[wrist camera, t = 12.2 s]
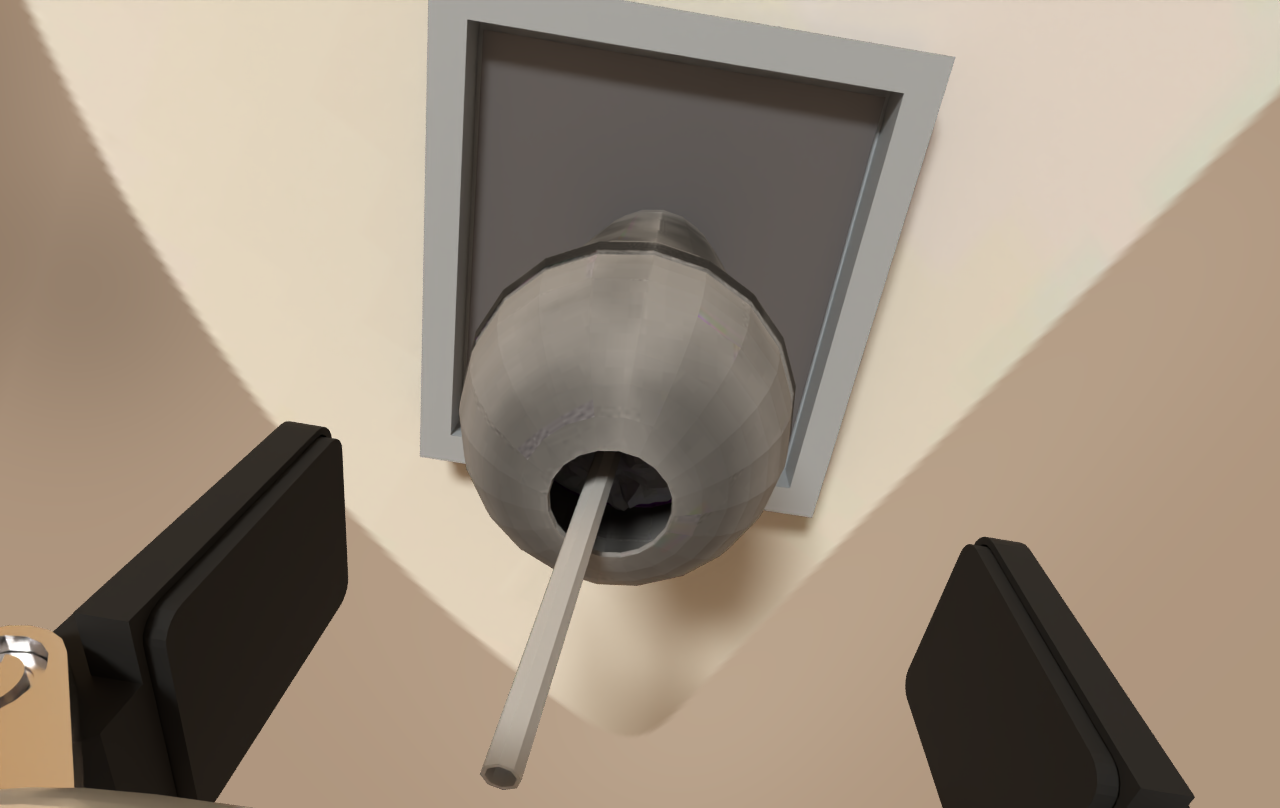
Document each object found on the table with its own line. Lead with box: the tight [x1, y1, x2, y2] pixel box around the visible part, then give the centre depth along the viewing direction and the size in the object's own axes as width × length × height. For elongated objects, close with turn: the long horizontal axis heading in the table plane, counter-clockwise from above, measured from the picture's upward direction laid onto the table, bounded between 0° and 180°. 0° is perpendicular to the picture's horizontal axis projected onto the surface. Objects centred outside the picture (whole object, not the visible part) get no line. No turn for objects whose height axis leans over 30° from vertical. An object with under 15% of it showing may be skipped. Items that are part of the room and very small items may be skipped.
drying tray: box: [420, 0, 955, 518], centre depth 26 cm, size 16×17×2 cm
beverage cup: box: [459, 210, 796, 790], centre depth 17 cm, size 7×7×20 cm
